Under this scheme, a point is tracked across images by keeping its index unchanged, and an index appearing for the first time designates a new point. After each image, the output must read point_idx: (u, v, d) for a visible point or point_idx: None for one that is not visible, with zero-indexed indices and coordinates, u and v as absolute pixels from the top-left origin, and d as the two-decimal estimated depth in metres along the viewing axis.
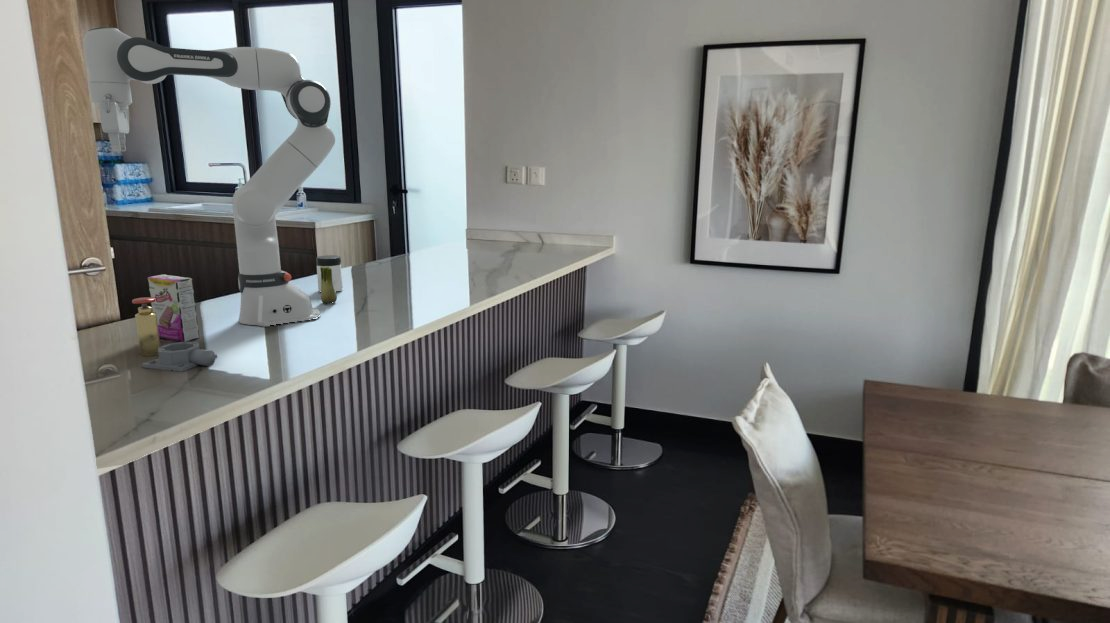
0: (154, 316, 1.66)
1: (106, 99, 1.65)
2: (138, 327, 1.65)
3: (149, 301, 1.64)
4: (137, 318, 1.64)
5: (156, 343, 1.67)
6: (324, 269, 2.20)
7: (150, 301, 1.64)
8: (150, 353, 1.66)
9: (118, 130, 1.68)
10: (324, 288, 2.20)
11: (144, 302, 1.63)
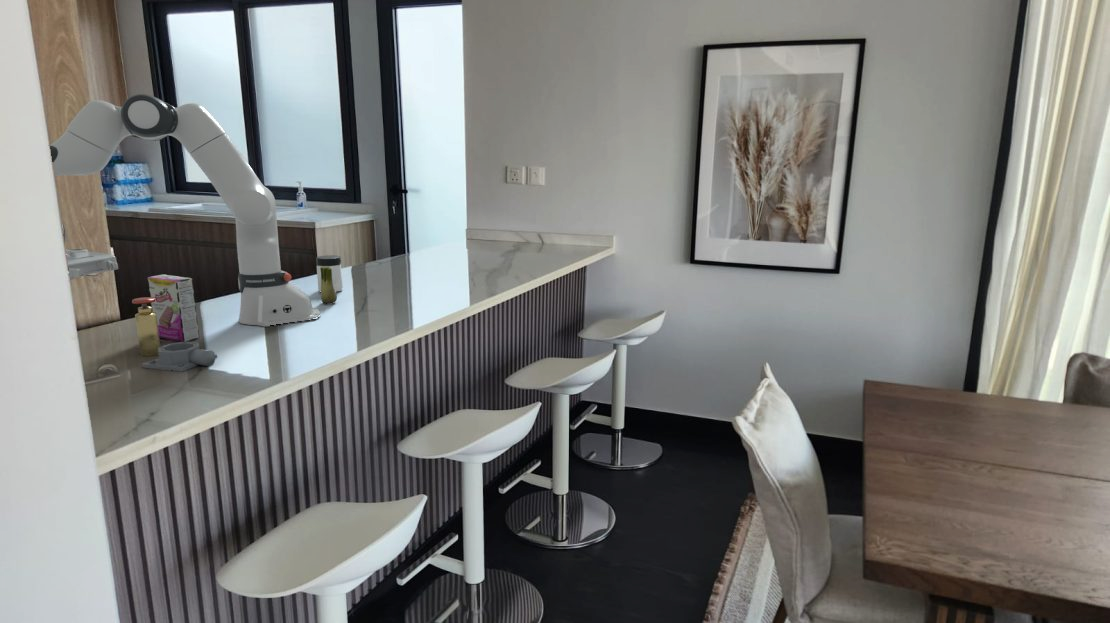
0: (154, 316, 1.66)
1: None
2: (138, 327, 1.65)
3: (149, 301, 1.64)
4: (137, 318, 1.64)
5: (156, 343, 1.67)
6: (324, 269, 2.20)
7: (150, 301, 1.64)
8: (150, 353, 1.66)
9: None
10: (324, 288, 2.20)
11: (144, 302, 1.63)
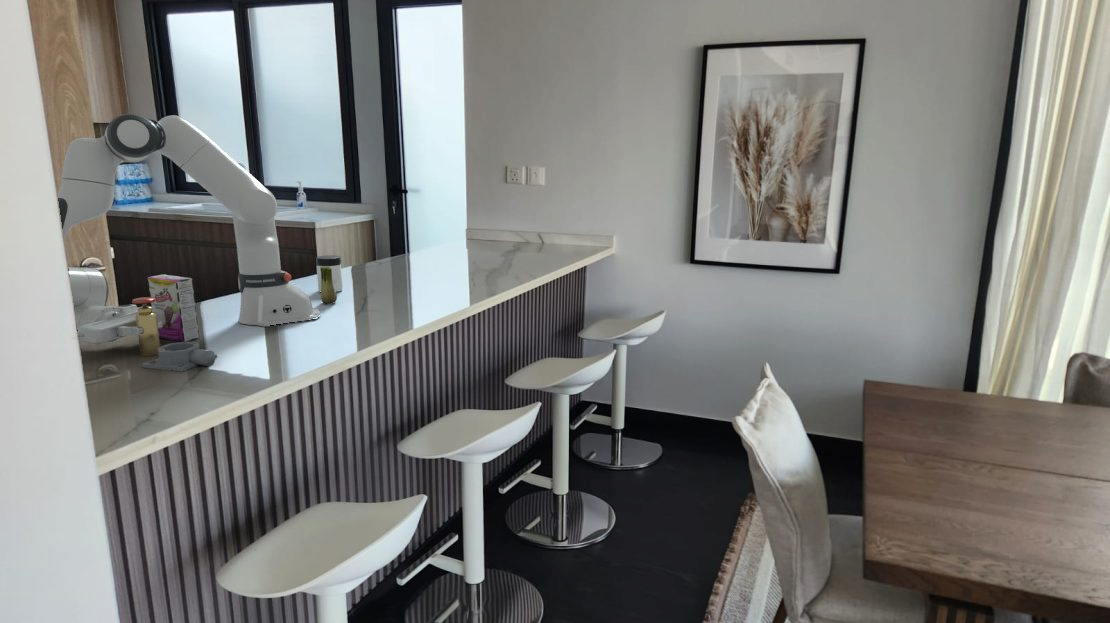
0: (154, 316, 1.66)
1: None
2: None
3: (149, 301, 1.64)
4: (137, 318, 1.64)
5: (156, 343, 1.67)
6: (324, 269, 2.20)
7: (150, 301, 1.64)
8: (150, 353, 1.66)
9: (98, 329, 1.58)
10: (324, 288, 2.20)
11: (144, 302, 1.63)
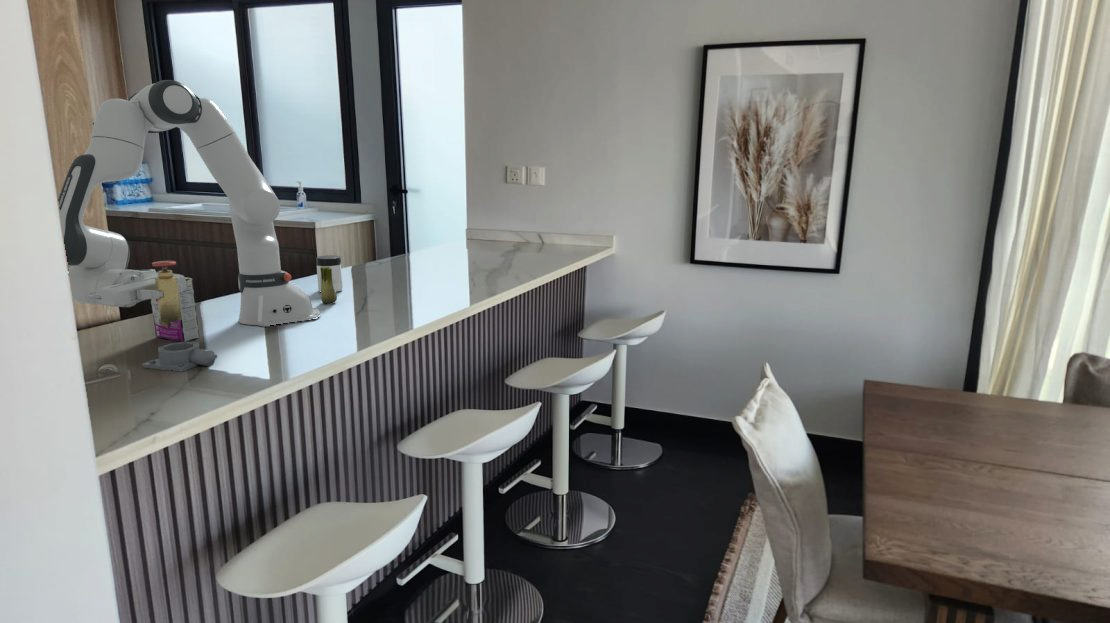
0: (175, 280, 1.57)
1: (88, 296, 1.51)
2: None
3: (170, 264, 1.55)
4: (157, 282, 1.55)
5: (176, 309, 1.58)
6: (324, 269, 2.20)
7: (171, 264, 1.55)
8: (170, 319, 1.57)
9: (116, 291, 1.50)
10: (324, 288, 2.20)
11: (165, 265, 1.54)
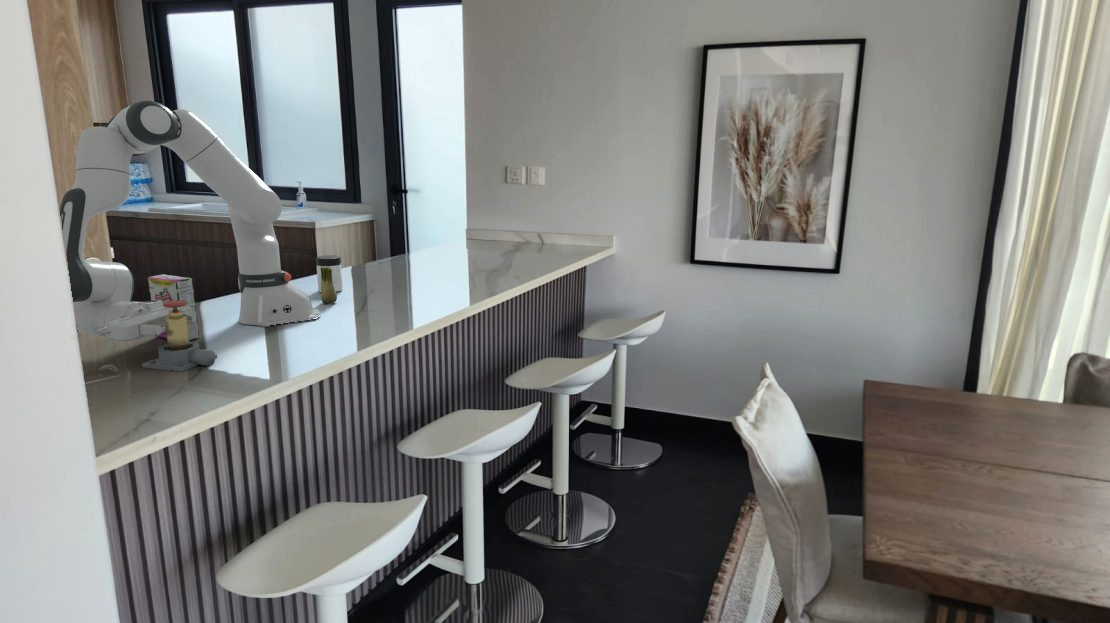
0: (185, 320, 1.59)
1: (97, 331, 1.52)
2: (168, 331, 1.58)
3: (180, 305, 1.57)
4: (167, 322, 1.57)
5: (186, 348, 1.60)
6: (324, 269, 2.20)
7: (181, 305, 1.57)
8: None
9: (125, 326, 1.51)
10: (324, 288, 2.20)
11: (175, 306, 1.56)
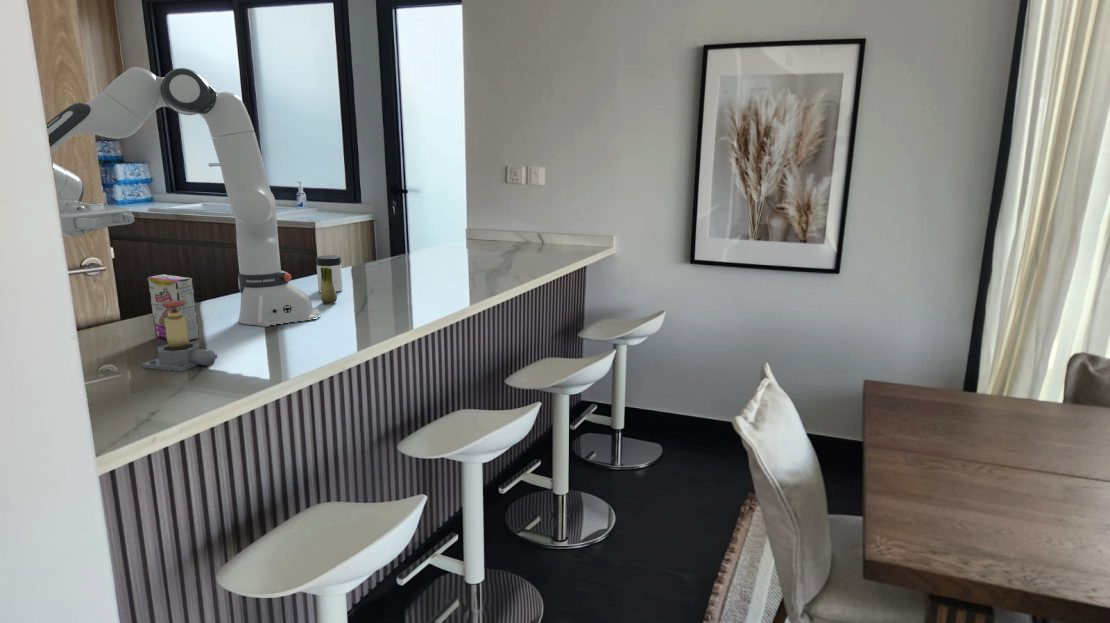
0: (184, 320, 1.59)
1: None
2: (167, 332, 1.58)
3: (179, 304, 1.57)
4: (167, 322, 1.57)
5: (186, 348, 1.60)
6: (324, 269, 2.20)
7: (180, 304, 1.57)
8: None
9: None
10: (324, 288, 2.20)
11: (174, 305, 1.56)
